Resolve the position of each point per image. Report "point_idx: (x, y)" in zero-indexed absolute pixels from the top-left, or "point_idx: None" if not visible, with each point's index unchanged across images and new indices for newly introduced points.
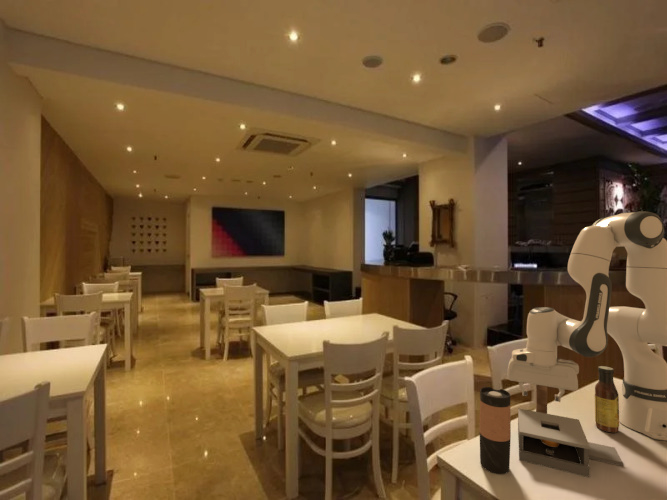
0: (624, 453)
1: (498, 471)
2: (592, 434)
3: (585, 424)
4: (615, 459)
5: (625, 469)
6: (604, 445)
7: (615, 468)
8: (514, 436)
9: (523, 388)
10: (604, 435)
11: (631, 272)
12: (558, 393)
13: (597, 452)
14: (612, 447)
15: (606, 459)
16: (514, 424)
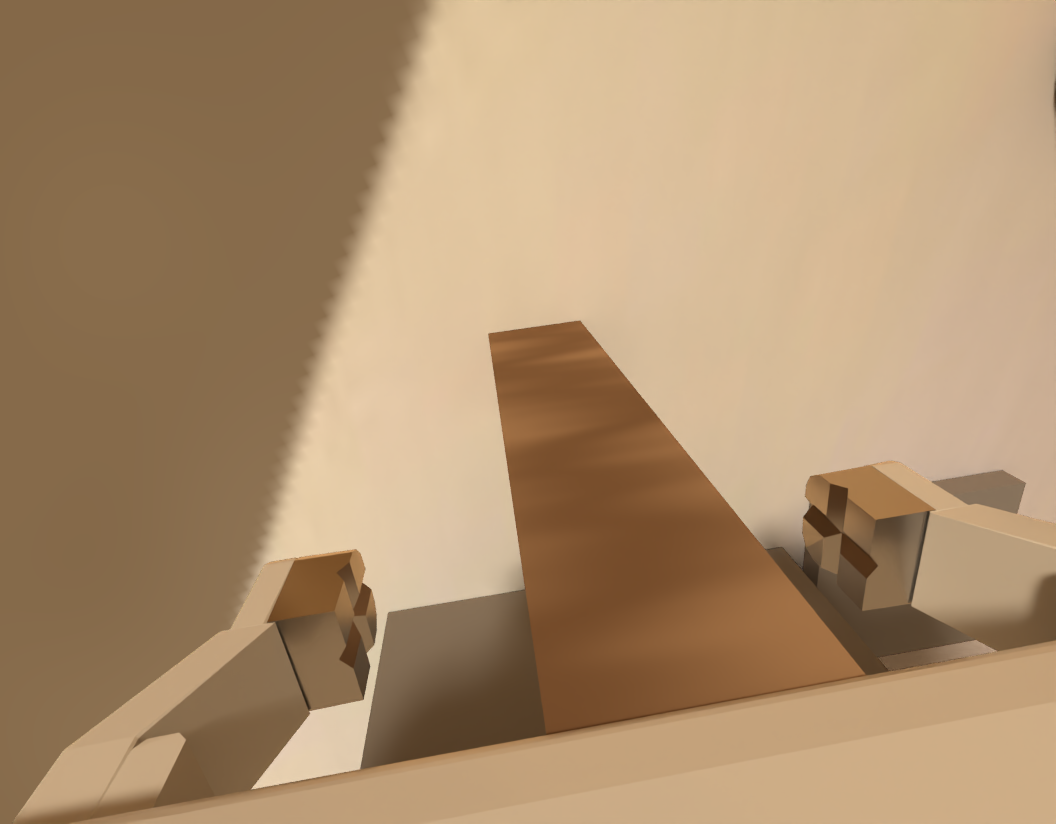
0: (1051, 465)
1: None
2: (947, 273)
3: (965, 40)
4: (955, 629)
5: (962, 643)
6: (964, 495)
7: (913, 662)
8: (376, 664)
9: (269, 728)
10: (1046, 228)
11: None
12: (967, 530)
13: (879, 614)
14: (1009, 491)
15: (902, 650)
16: (323, 486)
